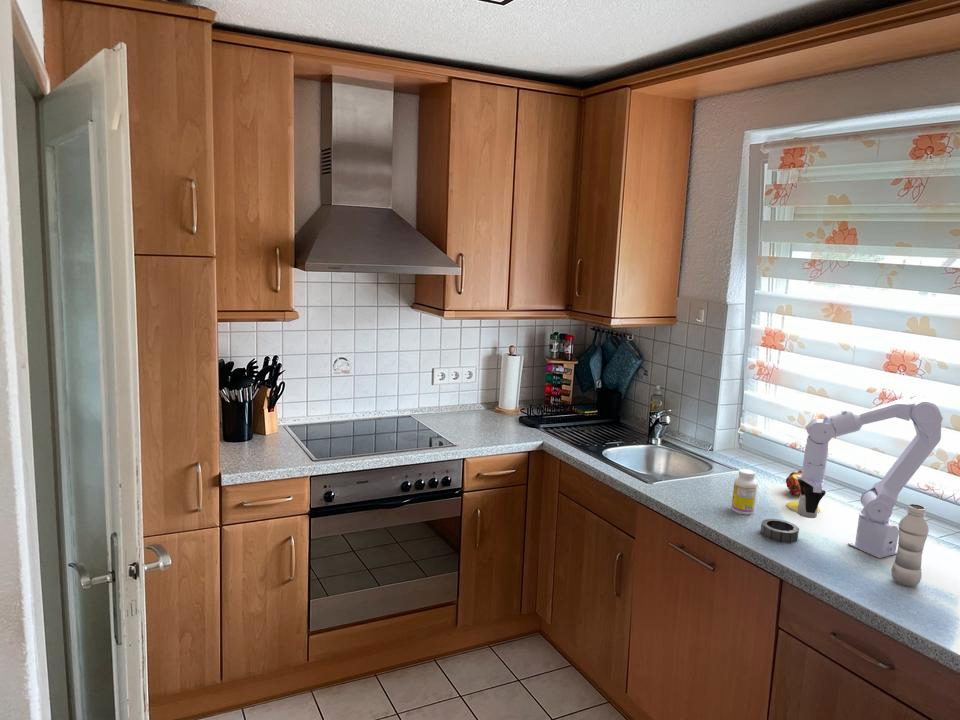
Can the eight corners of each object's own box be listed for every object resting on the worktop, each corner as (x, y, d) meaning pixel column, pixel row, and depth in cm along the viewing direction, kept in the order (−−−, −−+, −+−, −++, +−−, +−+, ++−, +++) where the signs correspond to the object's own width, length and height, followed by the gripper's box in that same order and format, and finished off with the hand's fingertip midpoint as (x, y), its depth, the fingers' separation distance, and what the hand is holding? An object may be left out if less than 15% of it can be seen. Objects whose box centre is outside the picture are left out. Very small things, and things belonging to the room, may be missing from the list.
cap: (820, 516, 200) (823, 499, 199) (808, 519, 198) (811, 501, 197) (805, 510, 205) (807, 492, 204) (793, 512, 202) (795, 495, 202)
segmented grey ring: (804, 539, 201) (806, 529, 200) (780, 545, 196) (782, 534, 196) (777, 526, 209) (778, 517, 209) (753, 531, 205) (754, 521, 204)
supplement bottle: (735, 505, 225) (740, 466, 222) (757, 511, 221) (762, 471, 218) (727, 511, 220) (732, 471, 217) (749, 517, 216) (754, 476, 213)
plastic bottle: (892, 586, 175) (904, 509, 172) (887, 574, 182) (899, 499, 178) (922, 592, 173) (935, 514, 170) (916, 580, 179) (929, 504, 176)
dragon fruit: (807, 494, 242) (794, 508, 234) (787, 475, 245) (773, 488, 237) (824, 480, 237) (811, 493, 228) (804, 461, 240) (790, 473, 232)
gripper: (794, 453, 207) (788, 497, 209) (804, 468, 193) (798, 516, 195) (820, 456, 205) (814, 501, 207) (833, 471, 191) (825, 519, 194)
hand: (808, 508), depth 201 cm, fingers closed on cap, 5 cm apart
